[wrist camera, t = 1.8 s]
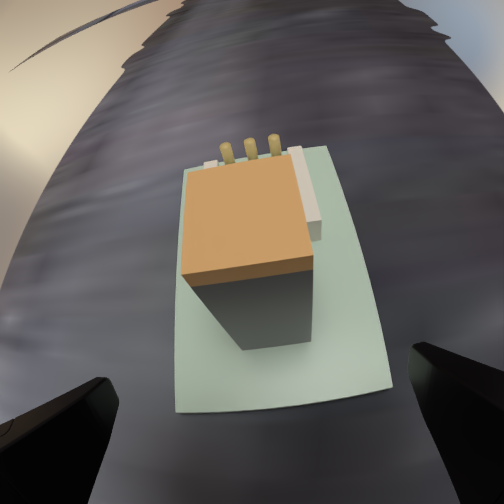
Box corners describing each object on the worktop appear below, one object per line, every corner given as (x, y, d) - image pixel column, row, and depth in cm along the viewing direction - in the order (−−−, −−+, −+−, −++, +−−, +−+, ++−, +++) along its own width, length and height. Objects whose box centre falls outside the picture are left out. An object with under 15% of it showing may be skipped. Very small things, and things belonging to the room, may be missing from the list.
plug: (311, 341, 19) (313, 255, 10) (242, 350, 20) (180, 274, 11) (300, 273, 22) (290, 154, 13) (237, 282, 23) (187, 172, 13)
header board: (388, 388, 18) (412, 377, 13) (182, 413, 19) (147, 407, 15) (326, 154, 29) (325, 112, 25) (187, 177, 31) (170, 139, 26)
